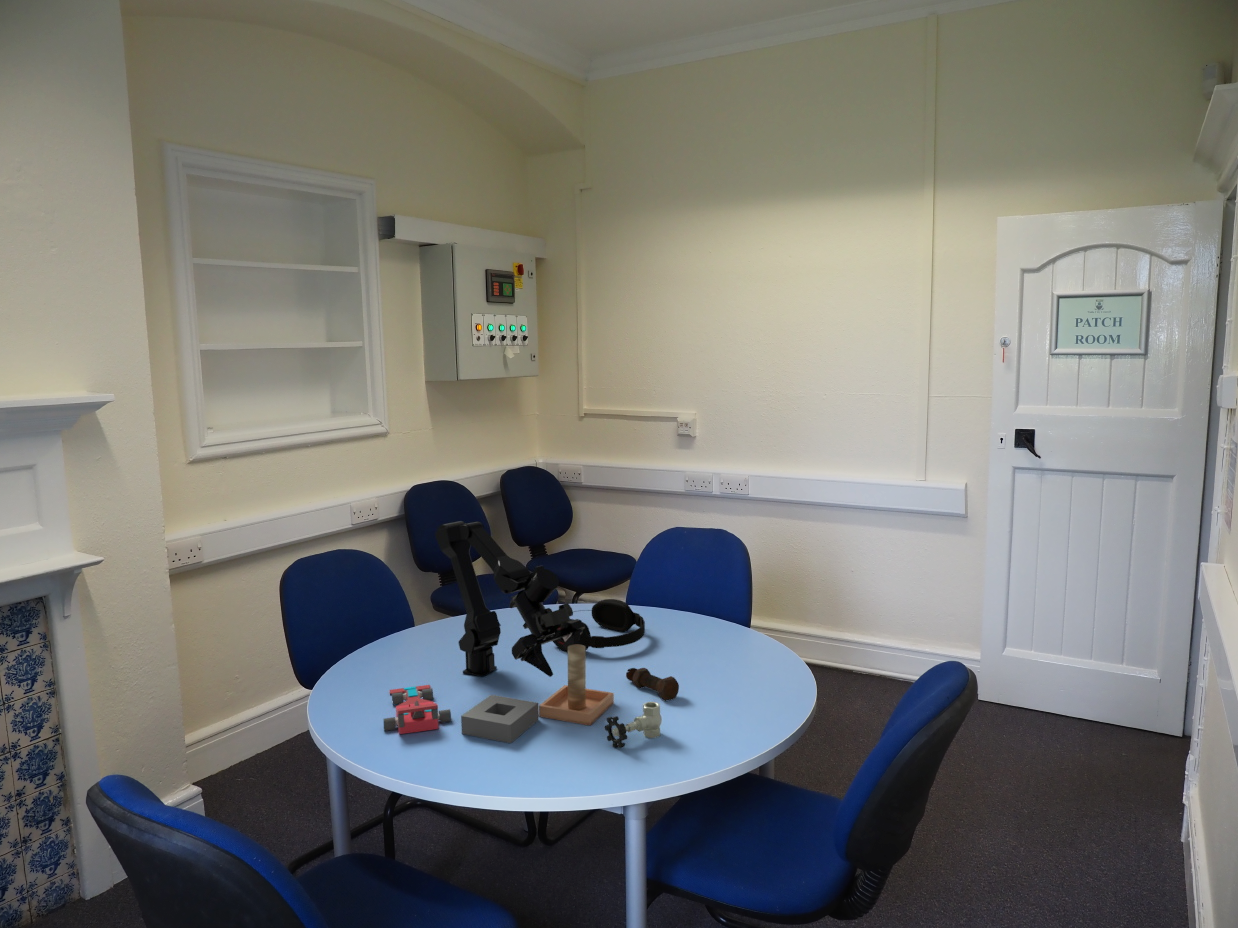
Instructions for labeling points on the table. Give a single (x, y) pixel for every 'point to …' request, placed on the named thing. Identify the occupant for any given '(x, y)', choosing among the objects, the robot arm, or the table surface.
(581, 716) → the tray
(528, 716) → the holder
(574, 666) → the dowel
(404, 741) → the table surface
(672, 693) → the bolt
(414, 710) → the race car
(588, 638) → the headset
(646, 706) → the valve
